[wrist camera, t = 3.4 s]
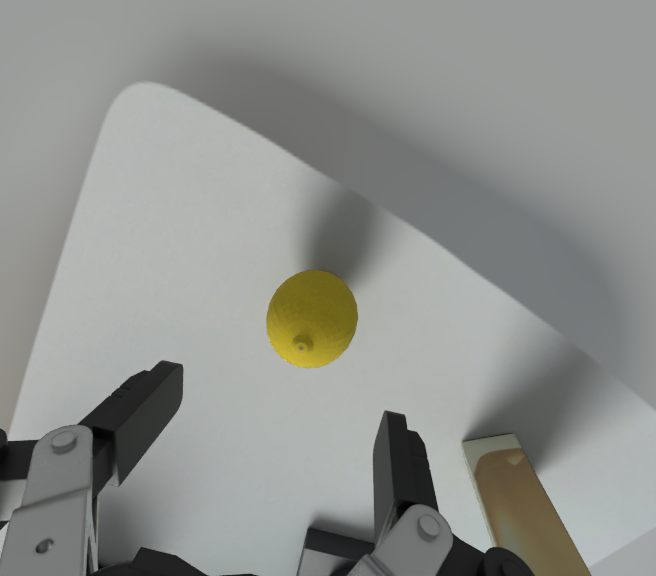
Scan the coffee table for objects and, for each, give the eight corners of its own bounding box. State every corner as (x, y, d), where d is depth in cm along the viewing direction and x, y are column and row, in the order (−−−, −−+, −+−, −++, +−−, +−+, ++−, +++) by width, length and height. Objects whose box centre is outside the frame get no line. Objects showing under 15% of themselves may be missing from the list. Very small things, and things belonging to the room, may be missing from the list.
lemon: (374, 288, 24) (378, 343, 16) (328, 340, 26) (312, 411, 18) (313, 240, 23) (287, 276, 16) (270, 297, 25) (229, 353, 18)
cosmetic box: (527, 487, 28) (633, 702, 17) (474, 494, 29) (542, 703, 18) (514, 428, 27) (624, 626, 15) (458, 438, 28) (522, 631, 16)
